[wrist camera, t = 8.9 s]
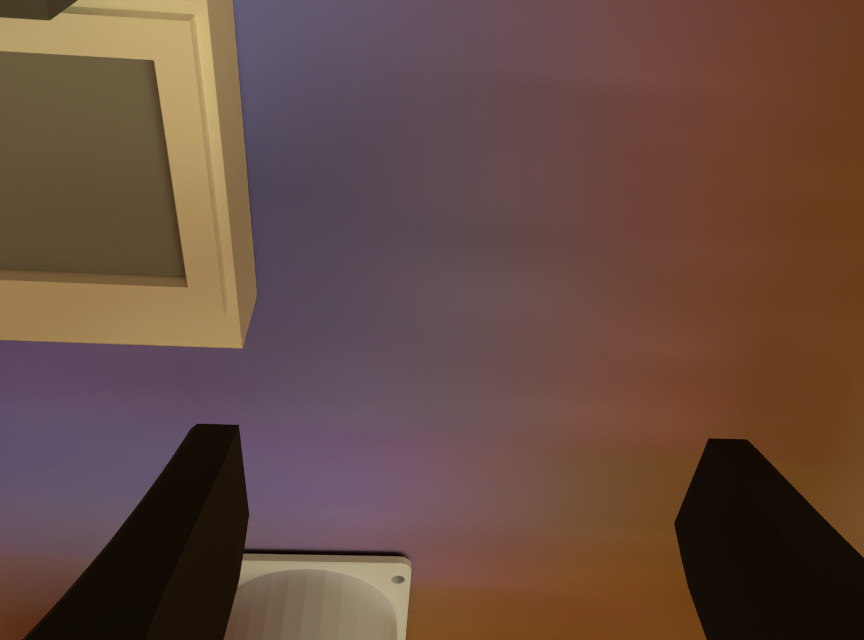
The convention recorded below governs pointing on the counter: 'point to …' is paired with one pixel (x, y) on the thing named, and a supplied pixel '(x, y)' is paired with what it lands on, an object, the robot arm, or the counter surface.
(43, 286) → the power strip
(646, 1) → the counter surface
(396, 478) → the counter surface
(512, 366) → the counter surface
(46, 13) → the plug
